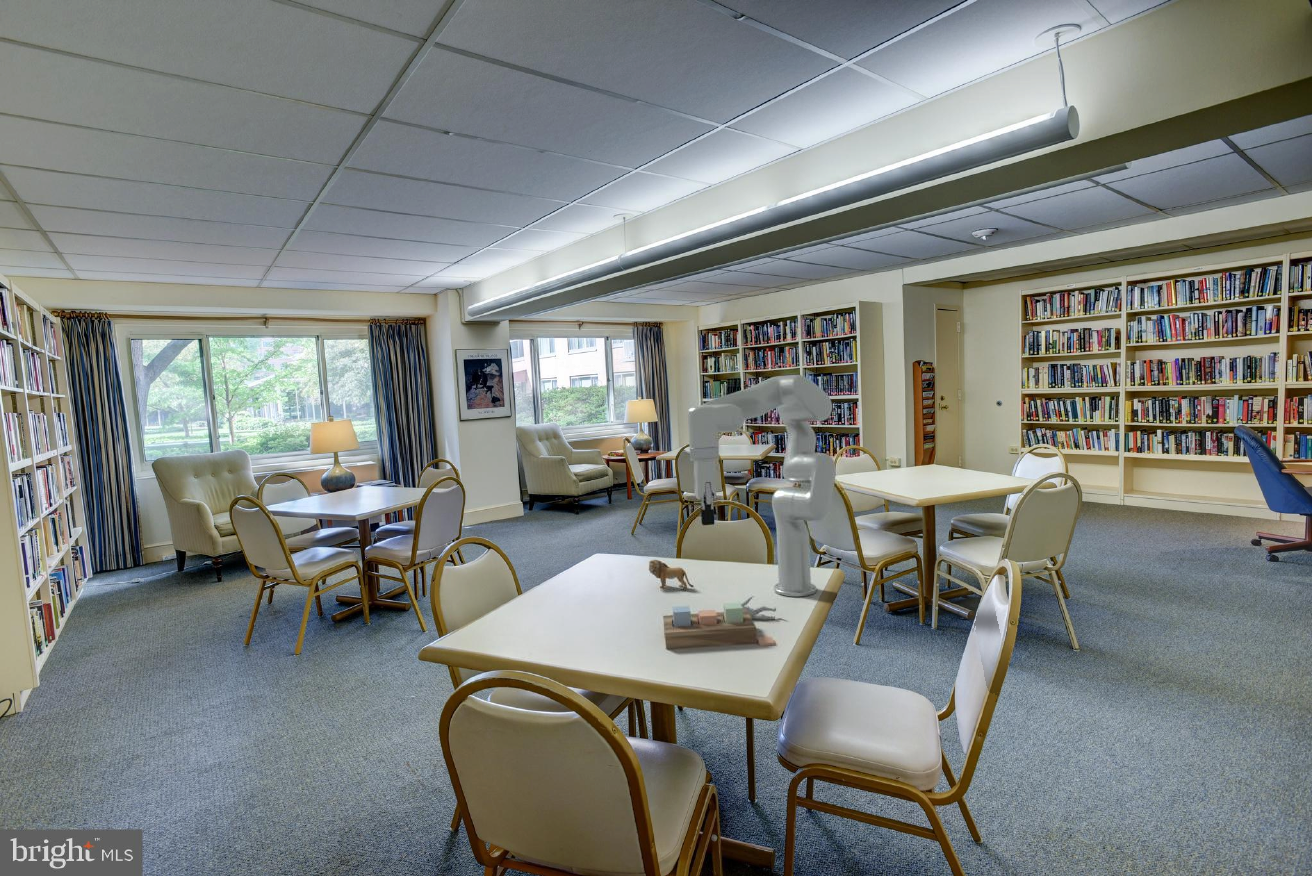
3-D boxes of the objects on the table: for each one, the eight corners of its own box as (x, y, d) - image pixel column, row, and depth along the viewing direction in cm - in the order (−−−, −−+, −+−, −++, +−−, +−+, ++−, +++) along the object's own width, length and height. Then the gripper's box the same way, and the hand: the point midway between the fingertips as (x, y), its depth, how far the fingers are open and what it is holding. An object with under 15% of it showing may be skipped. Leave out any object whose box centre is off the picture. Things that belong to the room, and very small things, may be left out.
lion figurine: (647, 589, 199) (645, 561, 199) (652, 584, 205) (650, 557, 204) (692, 591, 195) (690, 562, 195) (696, 586, 200) (694, 558, 200)
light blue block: (673, 628, 159) (672, 606, 158) (690, 627, 159) (689, 605, 158) (674, 634, 154) (673, 612, 154) (691, 633, 155) (690, 611, 154)
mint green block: (724, 624, 159) (723, 603, 159) (740, 623, 159) (739, 602, 159) (726, 630, 155) (725, 609, 154) (743, 629, 155) (742, 608, 155)
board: (664, 630, 163) (663, 615, 162) (747, 625, 163) (747, 610, 163) (666, 648, 151) (665, 632, 150) (756, 643, 151) (755, 626, 151)
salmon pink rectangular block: (699, 632, 159) (698, 610, 159) (715, 630, 159) (714, 609, 159) (701, 638, 155) (699, 616, 154) (717, 637, 155) (716, 615, 155)
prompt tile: (756, 640, 153) (756, 637, 153) (771, 639, 153) (771, 636, 153) (759, 645, 149) (759, 643, 149) (774, 644, 150) (774, 642, 150)
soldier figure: (774, 628, 163) (730, 615, 163) (769, 635, 167) (725, 623, 167) (777, 601, 168) (734, 589, 168) (772, 608, 172) (730, 596, 172)
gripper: (687, 452, 169) (691, 519, 170) (692, 457, 154) (696, 531, 155) (715, 451, 169) (718, 518, 170) (722, 455, 154) (726, 529, 155)
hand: (708, 524), depth 162 cm, fingers closed
